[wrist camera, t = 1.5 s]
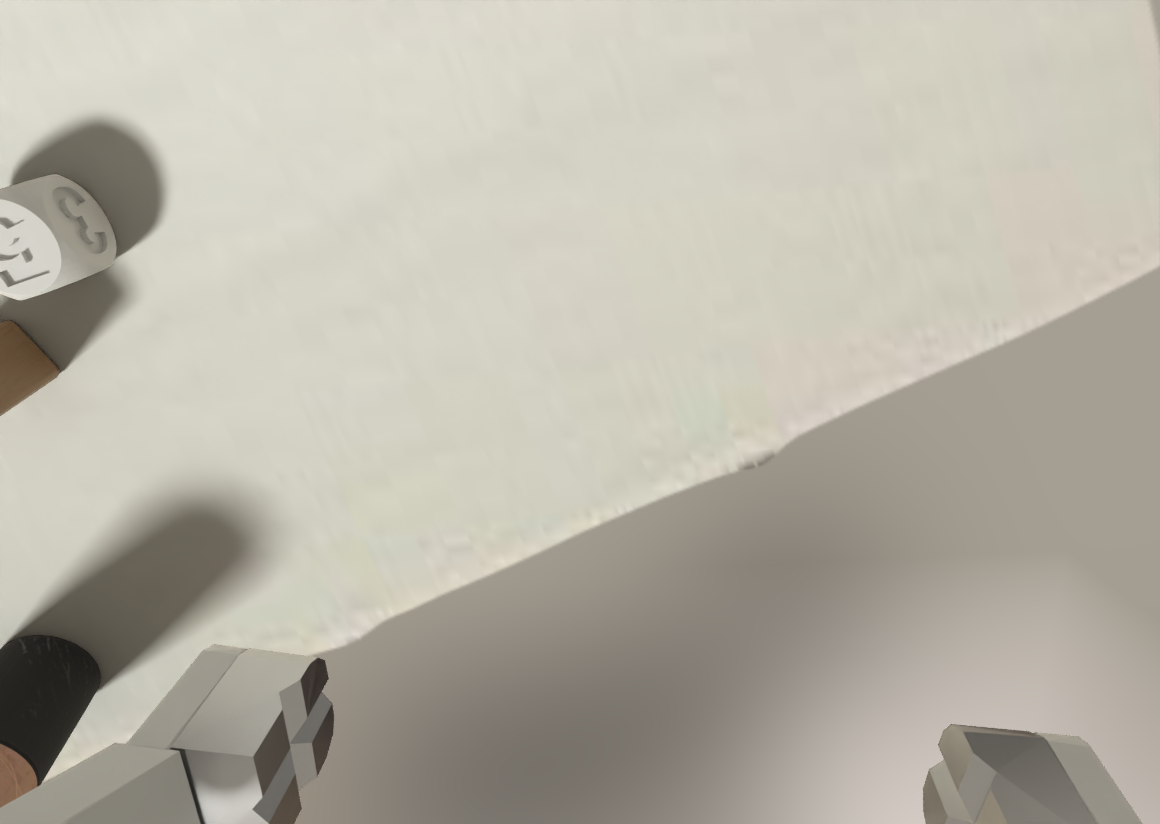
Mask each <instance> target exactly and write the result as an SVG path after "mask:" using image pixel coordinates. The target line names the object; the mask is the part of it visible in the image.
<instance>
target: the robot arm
mask: <svg viewBox="0 0 1160 824" xmlns="http://www.w3.org/2000/svg"><path fill="white" fill-rule="evenodd" d="M328 679H329V677H328V672H327V667H326V663H325V660H323V659H320V658H318V657H310V656H303V655H295V654H288V653H281V652H273V651H266V650H258V649H251V648H249V649H246V648H238V647H231V646H223V645H216V644H214V645H212V646H211V647H209V648H207V649H205V650H204V651H202V652H201V653H200V654H199V656H198V657H197V658H196V659H195V661H194V662H193V663H192V664H191V665H190V667H189V668H188V669H187V670H186V672H185V673H184V674H183V675H182V676H181V678H180V679H179V680H178V681H177V683H176V684H175V685H174V686H173V687H172V689H171V690H170V691H169V692H168V694H167V695H166V696H165V697H164V698H163V700H162V701H161V702H160V703H159V705H158V706H157V707H156V708H155V709H154V711H153V712H152V713H151V714H150V716H149V717H148V718H147V719H146V720H145V722H144V723H143V724H142V725H141V727H140V728H139V729H138V730H137V731H136V733H135V734H134V735H133V736H132V738H131V739H130V740H129V741H128V742H127V744H120V743H114V744H112V745H111V746H109V747H107V748H105V749H103V750H102V751H100V752H98V753H96V754H95V755H93V756H91V757H89V758H88V759H86V760H84V761H82V762H80V763H79V764H77V765H75V766H73V767H72V768H70V769H68V770H66V771H65V772H63V773H61V774H59V775H57V776H56V777H54V778H52V779H50V780H49V781H47V782H45V783H43V784H42V785H40V786H38V787H36V788H34V789H33V790H31V791H29V792H27V793H26V794H24V795H22V796H20V797H18V798H17V799H15V800H13V801H11V802H10V803H8V804H6V805H4V806H3V807H1V808H0V824H294V823H295V821H296V819H297V817H298V815H299V813H300V811H301V809H302V807H301V802H300V796H299V790H300V789H302V788H303V787H304V786H306V785H307V784H308V783H310V782H311V781H313V780H314V779H315V778H317V777H318V774H319V772H320V770H321V768H322V766H323V764H324V762H325V760H326V758H327V754H328V751H329V747H330V743H331V740H332V736H333V729H334V711H333V704H332V702H331V701H330V700H329V699H328V698H327V697H326V696H325V695H324V694H323V693H322V690H323V688H324V686H325V685H326V683H327V680H328ZM938 746H939V748H940V751H941V753H942V755H943V758H944V760H943V761H941V762H940V763H938V764H937V765H935V766H934V767H932V768H930V769H929V771H928V775H927V778H926V781H925V784H924V788H923V812H924V817H925V822H926V824H1142V822H1141V821H1140V819H1139V818H1138V816H1137V815H1136V814H1135V812H1134V810H1133V809H1132V807H1131V806H1130V804H1129V803H1128V801H1127V800H1126V798H1125V797H1124V796H1123V794H1122V792H1121V791H1120V790H1119V788H1118V787H1117V785H1116V784H1115V782H1114V781H1113V779H1112V778H1111V776H1110V775H1109V773H1108V772H1107V770H1106V769H1105V767H1104V766H1103V764H1102V763H1101V761H1100V760H1099V758H1098V757H1097V755H1096V754H1095V752H1094V751H1093V750H1092V748H1091V747H1090V745H1089V744H1088V743H1086V742H1085V741H1084V740H1082V739H1081V738H1080V737H1077V736H1067V735H1057V734H1047V733H1037V732H1036V733H1031V732H1029V731H1019V730H1008V729H997V728H987V727H976V726H966V725H955V724H951V725H949V726H948V727H947V728H946V729H945V730H944V731H943V733H942V736H941V738H940V741H939V744H938Z"/></svg>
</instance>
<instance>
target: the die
mask: <svg viewBox="0 0 1160 824" xmlns="http://www.w3.org/2000/svg"><path fill="white" fill-rule="evenodd" d="M116 251H117V245H116V239H115V235H114V232H113V229H112V227H111V224H110V222H109V220H108V218H107V217H106V215H105V213H104V212H103V210H102V209H101V207H100V206H99V205H98V203H97V202H96V201H95V200H94V199H93V197H92V196H91V195H90V194H89V193H88V192H87V191H85V190H84V189H83V188H82V187H81V186H79V185H78V184H76V183H75V182H73V181H71V180H69V179H67V178H65V177H62V176H60V175H58V174H52V175H47V176H43V177H39V178H36V179H32V180H29V181H25V182H22V183H18V184H15V185H12V186H9V187H5V188H2V189H0V294H2V295H5V296H7V297H10V298H13V299H16V300H25V299H28V298H32V297H35V296H38V295H41V294H44V293H46V292H49V291H52V290H55V289H58V288H60V287H63V286H66V285H68V284H71V283H73V282H76V281H78V280H81V279H83V278H86V277H88V276H91V275H93V274H95V273H98V272H100V271H102V270H104V269H106V268H108V267H110V266H112V265H113V264H114V260H115V256H116Z"/></svg>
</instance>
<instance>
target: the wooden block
mask: <svg viewBox="0 0 1160 824" xmlns="http://www.w3.org/2000/svg"><path fill="white" fill-rule="evenodd" d="M59 372H60V371H59V369H58V367H57V366H56V365H55V364H54V363H53V362H52V361H51V360H50V359H49V358H48V357H47V356H46V355H45V354H44V353H43V352H42V351H41V349H40V348H39V347H38V346H37V345H36V344H35V343H34V342H33V341H32V340H31V339H30V338H29V337H28V336H27V335H26V334H25V333H24V332H23V330H22V329H21V328H20V327H19V326H18V325H17V324H16V323H14V322H13V321H3V322H1V323H0V416H1V415H3V414H4V413H5V412H7V411H8V410H10V409H11V408H13V407H14V406H16V405H17V404H19V403H20V402H21V401H23V400H24V399H26V398H27V397H29V396H30V395H32V394H33V393H35V392H36V391H37V390H39V389H40V388H42V387H43V386H45V385H46V384H48V383H49V382H51V381H52V380H53V379H55V378H56V377H57V376H58V374H59Z"/></svg>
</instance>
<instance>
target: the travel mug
mask: <svg viewBox="0 0 1160 824" xmlns="http://www.w3.org/2000/svg"><path fill="white" fill-rule="evenodd" d="M100 679H101V676H100V670H99V667H98V665H97V663H96V662H95V660H94V659H93V658H92V657H91V656H90V655H89V654H88V653H87V652H86V651H85V650H83V649H82V648H80V647H79V646H77V645H75V644H73V643H71V642H68V641H66V640H63V639H59V638H56V637H50V636H27V637H22V638H18V639H15V640H13V641H11V642H9V643H8V644H6V645H5V646H3V647H2V648H1V649H0V808H1V807H3V806H4V805H6V804H8V803H10V802H11V801H13V800H15V799H17V798H18V797H20V796H22V795H24V794H26V793H27V792H29V791H31V790H33V789H34V788H36V787H38V786H40V785H41V783H42V781H43V780H44V778H45V776H46V775H47V773H48V771H49V770H50V768H51V767H52V765H53V763H54V762H55V760H56V758H57V757H58V755H59V753H60V752H61V750H62V748H63V747H64V745H65V743H66V742H67V740H68V738H69V737H70V735H71V733H72V732H73V730H74V728H75V727H76V725H77V723H78V722H79V720H80V718H81V717H82V715H83V713H84V712H85V710H86V708H87V707H88V705H89V703H90V702H91V700H92V698H93V696H94V695H95V693H96V691H97V689H98V687H99V684H100Z"/></svg>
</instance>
